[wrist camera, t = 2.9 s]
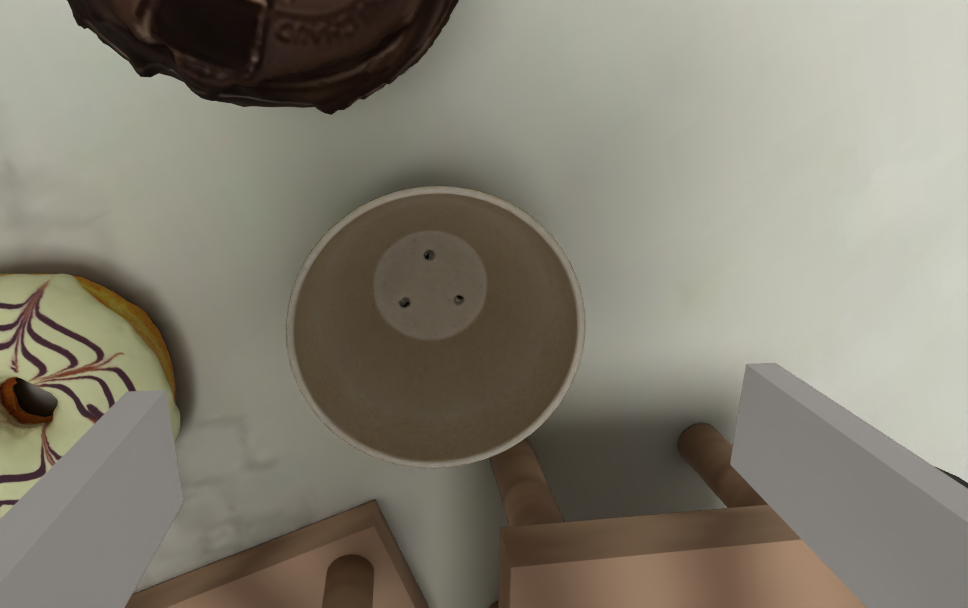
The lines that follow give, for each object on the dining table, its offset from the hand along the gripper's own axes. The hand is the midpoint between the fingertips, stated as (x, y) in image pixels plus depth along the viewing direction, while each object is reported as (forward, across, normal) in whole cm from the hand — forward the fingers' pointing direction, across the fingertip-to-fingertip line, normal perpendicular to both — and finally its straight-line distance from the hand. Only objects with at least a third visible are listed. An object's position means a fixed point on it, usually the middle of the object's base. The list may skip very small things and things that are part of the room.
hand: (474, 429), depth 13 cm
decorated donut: (+14, -16, -4) cm, 22 cm away
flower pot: (+14, 0, 0) cm, 14 cm away
